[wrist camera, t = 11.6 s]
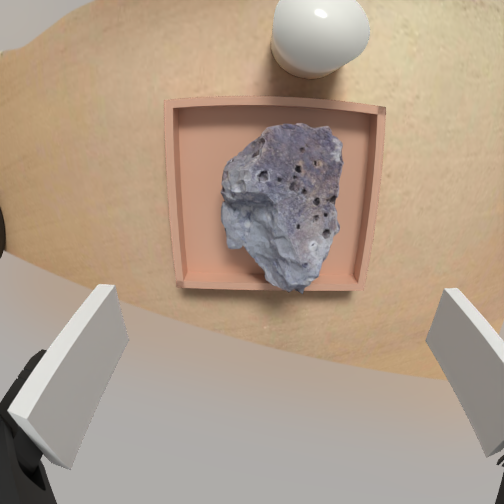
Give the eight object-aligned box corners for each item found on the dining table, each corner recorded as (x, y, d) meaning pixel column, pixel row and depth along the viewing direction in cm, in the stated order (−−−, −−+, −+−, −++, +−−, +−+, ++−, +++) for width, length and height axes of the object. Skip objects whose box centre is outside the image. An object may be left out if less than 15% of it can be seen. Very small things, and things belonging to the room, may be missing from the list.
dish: (183, 273, 34) (176, 287, 32) (173, 101, 27) (164, 100, 24) (356, 276, 34) (363, 290, 31) (374, 107, 26) (385, 107, 23)
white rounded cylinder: (270, 76, 26) (274, 61, 18) (270, 13, 23) (273, -20, 15) (343, 82, 25) (370, 71, 18) (342, 19, 22) (367, -8, 15)
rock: (322, 291, 31) (360, 299, 21) (223, 293, 31) (217, 303, 21) (317, 157, 32) (347, 115, 22) (223, 154, 31) (219, 108, 21)
